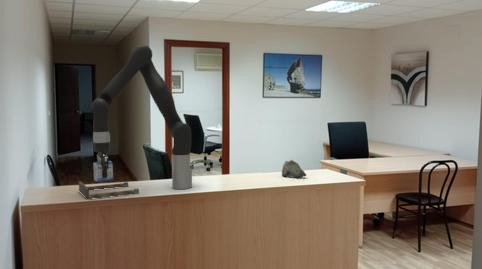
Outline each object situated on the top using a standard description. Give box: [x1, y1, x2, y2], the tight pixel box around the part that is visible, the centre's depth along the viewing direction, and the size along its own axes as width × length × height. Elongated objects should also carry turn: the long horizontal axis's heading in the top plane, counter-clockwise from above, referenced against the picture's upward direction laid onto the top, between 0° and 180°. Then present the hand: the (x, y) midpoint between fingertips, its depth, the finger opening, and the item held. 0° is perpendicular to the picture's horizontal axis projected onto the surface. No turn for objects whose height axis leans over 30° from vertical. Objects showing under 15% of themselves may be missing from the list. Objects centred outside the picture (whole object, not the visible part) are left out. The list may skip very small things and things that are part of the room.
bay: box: [78, 181, 140, 200], centre depth 216 cm, size 24×19×5 cm
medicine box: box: [92, 160, 114, 182], centre depth 212 cm, size 8×4×9 cm, turn 126°
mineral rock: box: [281, 159, 307, 179], centre depth 253 cm, size 13×11×10 cm
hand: (103, 176), depth 212 cm, fingers closed on medicine box, 4 cm apart
